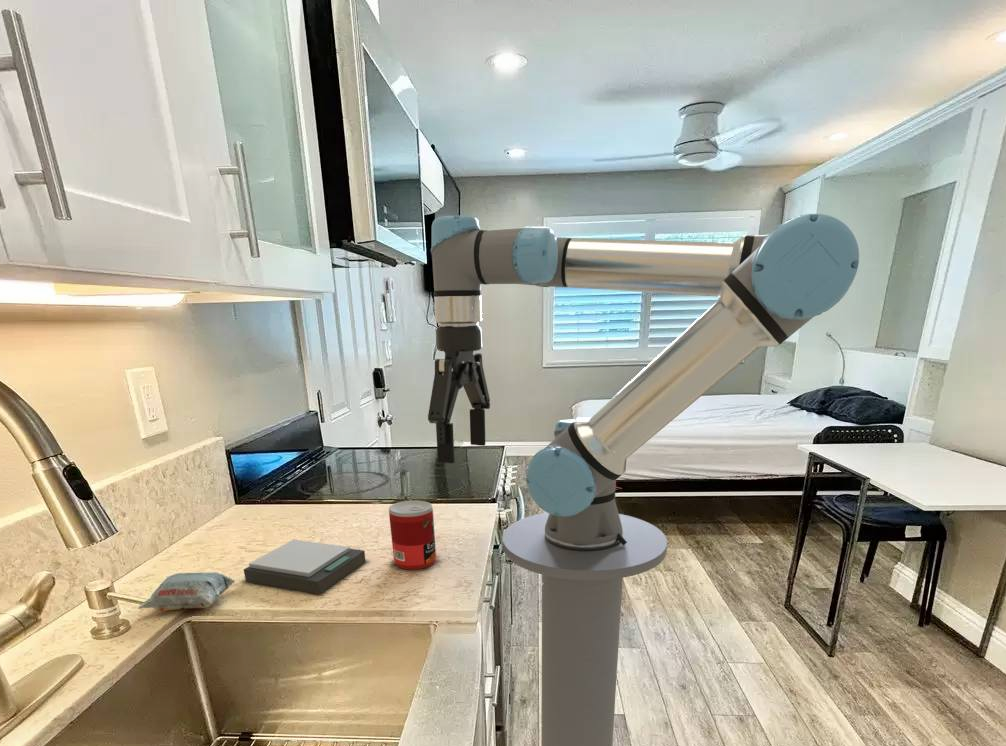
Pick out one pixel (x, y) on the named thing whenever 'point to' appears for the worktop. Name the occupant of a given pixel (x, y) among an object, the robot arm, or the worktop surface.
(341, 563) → the kitchen scale
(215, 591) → the packaged food
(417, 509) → the canned food
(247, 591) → the worktop surface
